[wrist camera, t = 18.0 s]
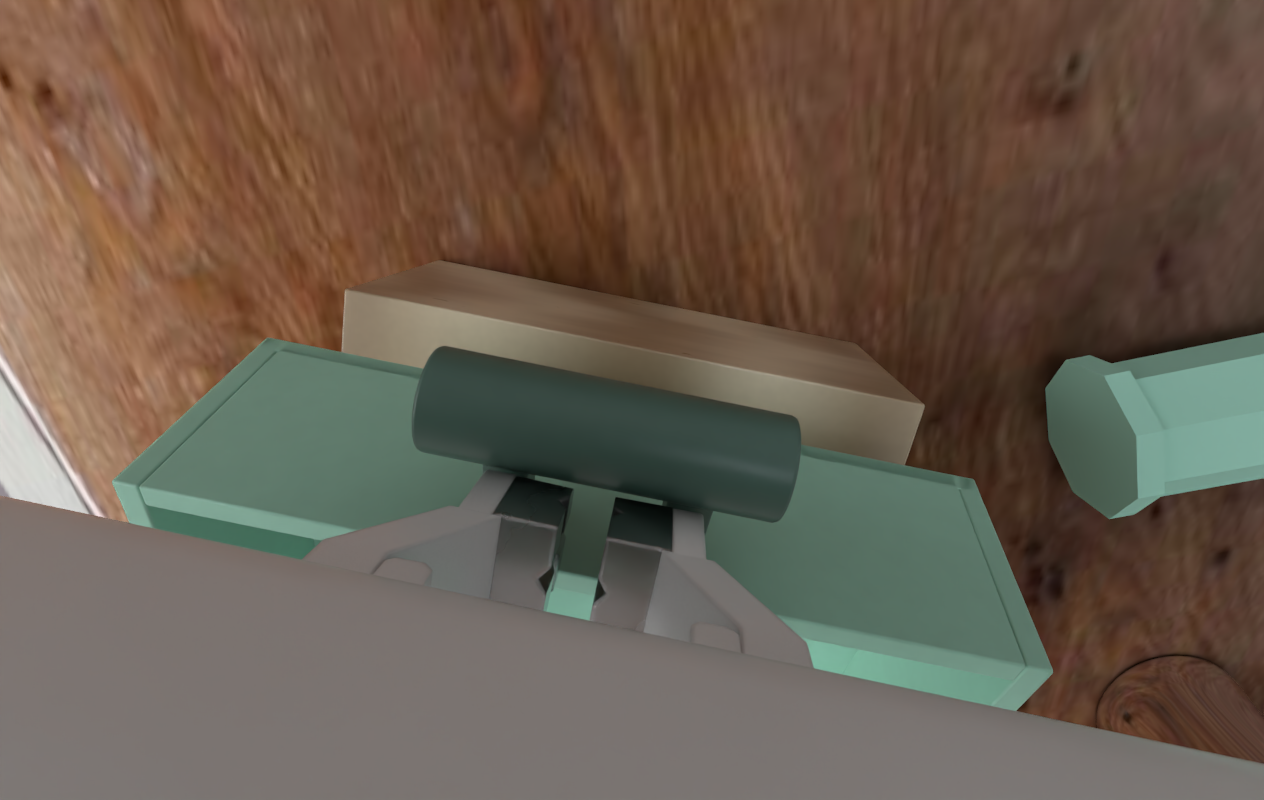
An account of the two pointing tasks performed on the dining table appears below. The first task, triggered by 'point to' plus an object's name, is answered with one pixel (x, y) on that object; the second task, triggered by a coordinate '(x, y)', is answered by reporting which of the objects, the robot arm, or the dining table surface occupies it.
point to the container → (1159, 423)
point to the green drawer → (607, 498)
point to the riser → (637, 349)
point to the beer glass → (1184, 708)
